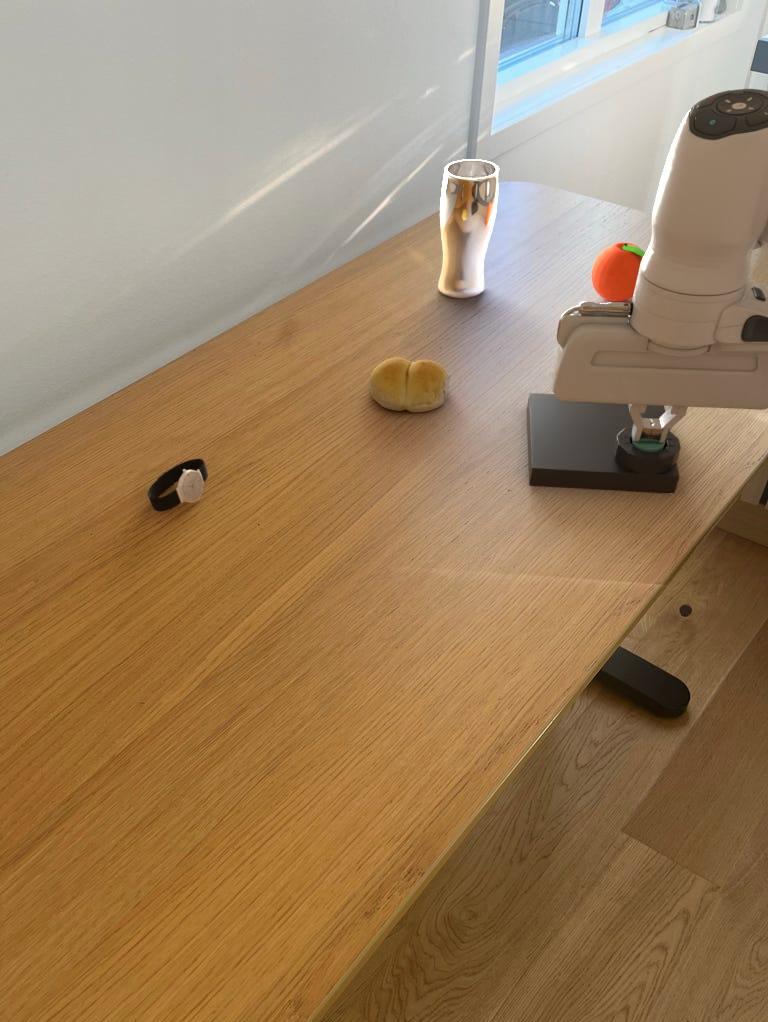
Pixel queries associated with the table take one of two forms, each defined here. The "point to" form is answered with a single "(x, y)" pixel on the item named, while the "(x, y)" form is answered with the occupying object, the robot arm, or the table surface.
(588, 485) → the black push button box
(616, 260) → the clementine
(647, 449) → the button
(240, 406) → the table surface
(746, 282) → the robot arm
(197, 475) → the watch
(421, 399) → the bread roll
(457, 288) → the beer glass
